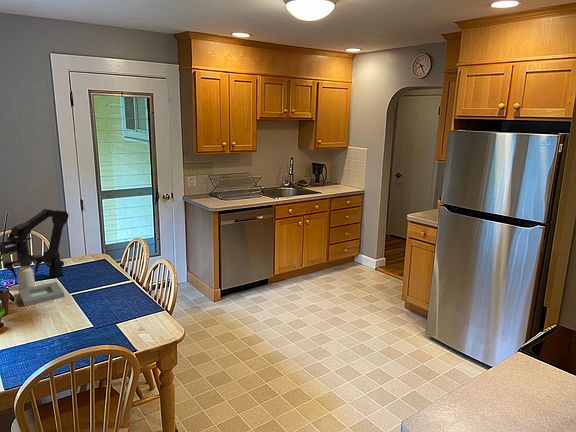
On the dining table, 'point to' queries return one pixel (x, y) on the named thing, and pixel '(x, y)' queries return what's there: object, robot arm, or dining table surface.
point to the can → (25, 277)
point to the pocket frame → (41, 293)
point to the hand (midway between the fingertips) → (25, 276)
